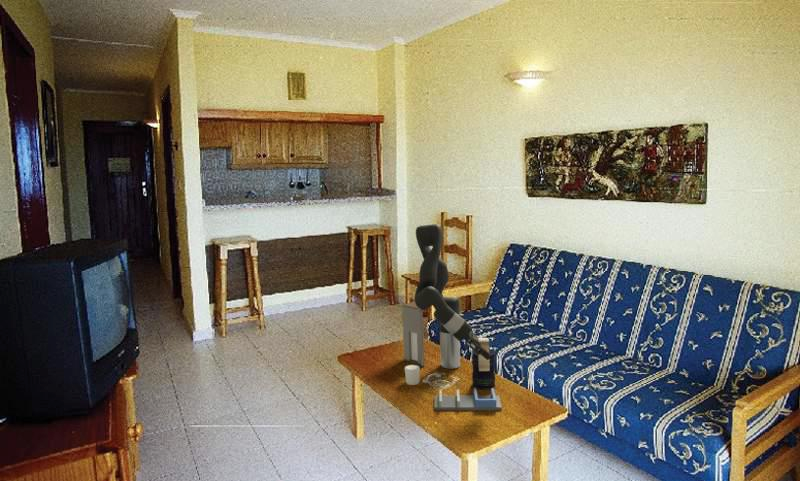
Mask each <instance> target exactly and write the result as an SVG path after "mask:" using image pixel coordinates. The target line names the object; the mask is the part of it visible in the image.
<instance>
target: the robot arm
mask: <svg viewBox="0 0 800 481" xmlns="http://www.w3.org/2000/svg"><path fill="white" fill-rule="evenodd" d="M415 239H416V243H417V245H418V247H419V250H420V252H421V255H422V259H423V261H422V263H421V265H420V268H419V277H418V278H419V279H418V283H417V286H416V289H415V294H414V301H415V304H416V306H417V307H418V308H419V309H421V310H422V311H425V310H428V309H429V308H431V307H433V308H434V309H435V310H434V312H433V317H434V319H435V320H436V321H438V322H439V323H440V325H439V342H440V343H439V346H440V347H439V348H440V349H439V350H440V366H441V367H442V368H443V369H448V370H450V369H451V370H452V369H457V368H460V366H461V349H460V348H461V346H460V345H461V344H460V343H461V342H462V341H464V340H465V341H466V344H467V346H468V347H469V348H470V349H471V350H474V351H475V352H476V353H478V354H479V355H480V354H481V355H482V356H483V357H484V358H485V359H487V360H489V359H490V358H491V355H490V351H489V353H488V352H487V351H486V350H485V349H484V348H483V347H482V346H481V344H480V343H479V341H478V338H479V337H478V336H477V335H476V334H475V333H474V332H473V331H472V330H473V327H472V326H471V324H469V323H468V322H467V321H466V320H465V319H464V318H463V317H462V316H461V302H460V299H459V298H457V297H449V296H444V294H443V292H444V289H445V288H446V287H447V285H448V282H449V278H450V274H449V271H448V266H447V264H446V262H445V261H444V260H443V259H442V258H441V257H440V256H441V251H442V247H443V240H444V233H443V228H442V227H441V225H440V224H439V223H437V224H436V223H435V224H434V223H433V224H432V223H431V224H425V225H424V224H423V225H419V226H417V227H416V229H415ZM430 247H432V248H430ZM478 349H480V350H478Z"/></svg>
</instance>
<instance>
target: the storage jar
mask: <svg viewBox="0 0 800 481" xmlns="http://www.w3.org/2000/svg"><path fill="white" fill-rule="evenodd" d="M489 351H490V355H491V358H490V359H489V362H490V371H479V360H478V353H476V352H475V351H474V350H473V349H471V364H472V374H471V380H472V386H473V387H474V388H476V389H477V390H491V388H495V387H496V383H495V382H496V372H495V365H496V357H495V354H496V352H495V350H494V349H493V348H489Z"/></svg>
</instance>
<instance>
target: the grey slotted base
mask: <svg viewBox="0 0 800 481" xmlns="http://www.w3.org/2000/svg"><path fill="white" fill-rule="evenodd" d="M494 388H495V387H493V388H491V389H490V394H488V395H487V394H486V395H485V394H484V395H481V394H480V395H478V391H477V390H478V389H477V388H475V387H474V388H473V394H472V395H470V394H467V395H466V394H465V395H464V394H463V395H460V389H456V395H454V394H453V395H451V394H450V395H447V394H445V395H444V394H443V389H439V395H434V408H433V409H434V411H502V409H503V407H502V402H501V399H500V395H496V392H495V389H494Z"/></svg>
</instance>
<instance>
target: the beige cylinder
mask: <svg viewBox="0 0 800 481" xmlns="http://www.w3.org/2000/svg"><path fill="white" fill-rule="evenodd" d="M420 369H421V366H420V365H419V364H409V365H405V366H404V374H405V375H404V376H405V381H406V382H405V383H406V384H407V385H409V386H415V385H418V384H419V383H420V374H421V373H420V372H421V370H420Z"/></svg>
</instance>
